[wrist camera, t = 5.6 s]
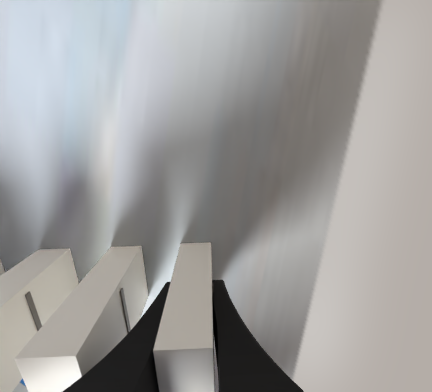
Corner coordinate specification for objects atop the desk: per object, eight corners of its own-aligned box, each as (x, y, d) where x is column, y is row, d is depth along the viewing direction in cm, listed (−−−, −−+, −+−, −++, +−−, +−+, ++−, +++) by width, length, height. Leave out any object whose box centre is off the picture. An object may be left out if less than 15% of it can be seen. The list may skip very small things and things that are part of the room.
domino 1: (83, 298, 15) (-20, 437, 8) (54, 299, 15) (-76, 440, 8) (71, 248, 14) (-64, 362, 7) (38, 249, 13) (-130, 365, 7)
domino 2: (149, 295, 15) (100, 430, 8) (120, 296, 15) (45, 433, 8) (142, 245, 14) (77, 355, 7) (110, 246, 14) (14, 358, 7)
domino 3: (213, 292, 15) (217, 422, 8) (184, 293, 15) (164, 425, 8) (212, 242, 14) (215, 347, 7) (180, 243, 14) (153, 350, 7)
